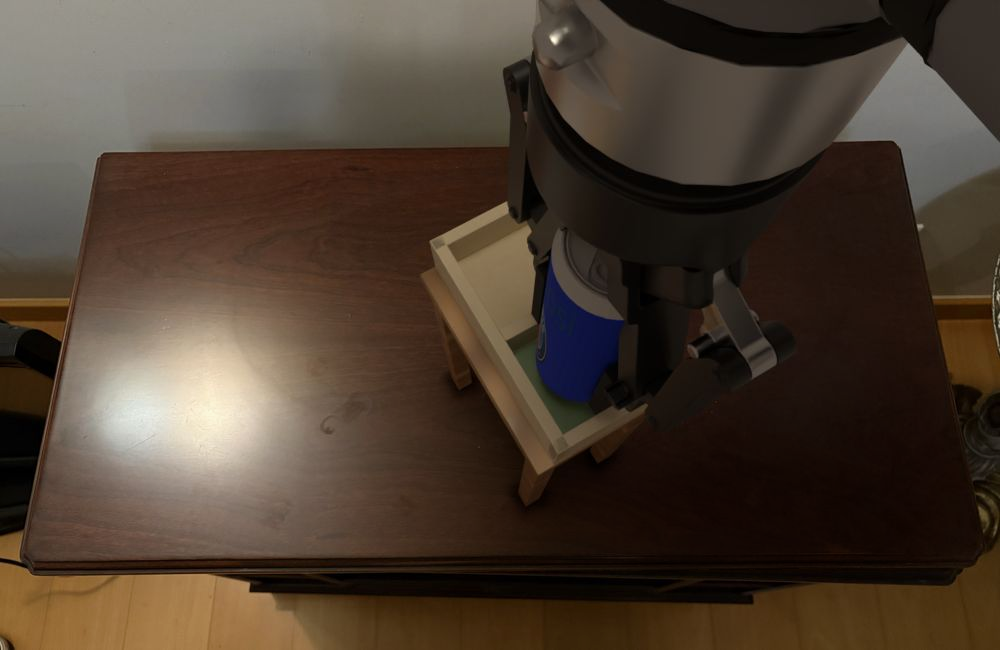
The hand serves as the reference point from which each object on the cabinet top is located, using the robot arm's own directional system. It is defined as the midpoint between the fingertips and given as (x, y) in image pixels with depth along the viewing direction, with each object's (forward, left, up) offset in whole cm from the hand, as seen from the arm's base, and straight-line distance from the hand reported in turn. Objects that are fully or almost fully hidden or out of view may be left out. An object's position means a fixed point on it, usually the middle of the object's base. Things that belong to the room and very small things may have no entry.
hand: (583, 350), depth 39 cm
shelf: (+4, 0, -32) cm, 32 cm away
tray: (+4, 0, -6) cm, 7 cm away
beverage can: (0, 0, -2) cm, 2 cm away
